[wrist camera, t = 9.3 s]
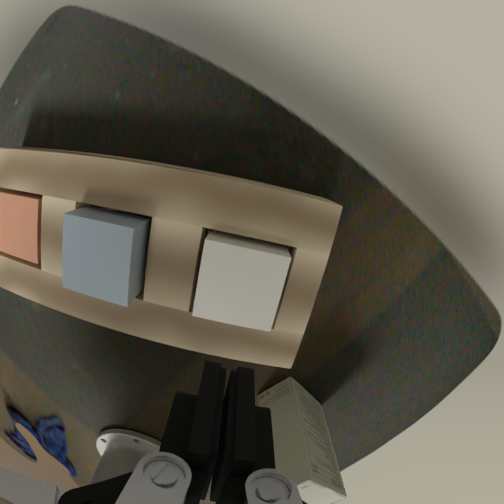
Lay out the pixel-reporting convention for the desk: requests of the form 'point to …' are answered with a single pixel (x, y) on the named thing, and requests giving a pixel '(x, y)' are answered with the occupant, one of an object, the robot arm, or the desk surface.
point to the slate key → (104, 253)
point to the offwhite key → (240, 280)
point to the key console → (172, 245)
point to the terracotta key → (21, 224)
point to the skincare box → (303, 442)
